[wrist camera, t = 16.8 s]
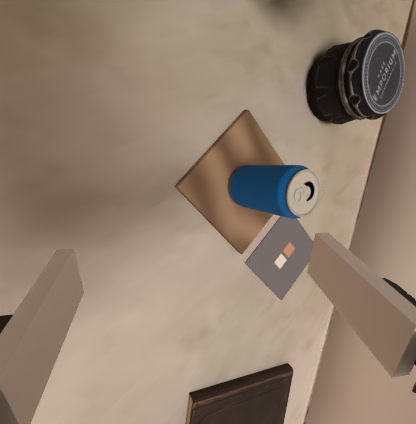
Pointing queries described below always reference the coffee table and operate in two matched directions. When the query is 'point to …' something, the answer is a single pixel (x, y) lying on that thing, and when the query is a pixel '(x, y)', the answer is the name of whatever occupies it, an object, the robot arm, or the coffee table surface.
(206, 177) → the walnut board
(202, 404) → the hardcover book
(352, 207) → the coffee table surface
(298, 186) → the beverage can
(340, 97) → the container
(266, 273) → the gray tile
